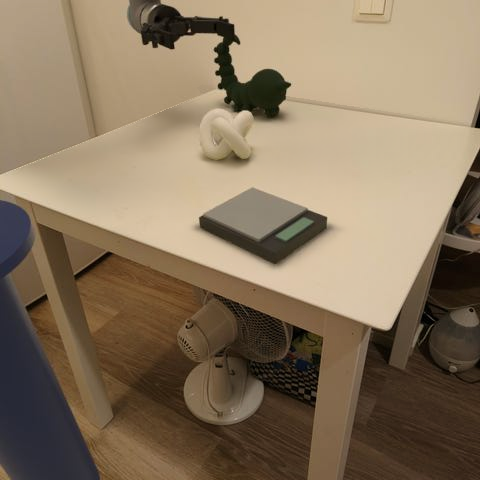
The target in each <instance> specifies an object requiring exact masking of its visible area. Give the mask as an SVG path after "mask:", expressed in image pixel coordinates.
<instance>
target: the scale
mask: <svg viewBox="0 0 480 480" xmlns="http://www.w3.org/2000/svg"><path fill="white" fill-rule="evenodd" d="M198 221H199V228H200V229H201V230H204V231H206V232H208V233H209V234H212V235H213V236H216V237H218V238H220V239H223V240H225V241H227V242H229V243H231V244H233V245H235V246H237V247H239V248H241V249H243V250H245V251H247V252H250V253H251V254H252V255H253V254H254V255H255V256H258V257H260V258H262V259H264V260H266V261H268V262H270V263H272V264H274V265H276V264H278V263H279V262H281V261H282V260H284V259H285V258H286V257H288V256H290V254H292V253H293V252H294V251H296V250H298V249H299V248H300V247H302V246H303V245H305V244H306V243H308V242H309V241H310V240H311V239H313V238H314V237H316V236H317V235H319V234H320V233H321V232H323V231H325V229H327V225H328V216H326V215H324V214H321V213H318V212H315V211H313V210H310V209H309V208H308V207H306V206H303V205H300V204H298V203H295V202H294V201H291V200H287V199H284V198H283V197H280V196H277V195H274V194H271V193H268V192H266V191H263V190H260V189H258V188H255V187H253V186H252V187H250V188H248V189H246V190H245V191H243V192H241V193H239V194H237V195H235V196H233V197H232V198H230V199H227V200H226V201H223V202H222V203H220V204H218V205H216V206H214V207H213V208H211V209H209V210H207V211H205V212H204V213H202V215H200V216H199V217H198Z"/></svg>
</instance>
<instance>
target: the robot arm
mask: <svg viewBox="0 0 480 480" xmlns="http://www.w3.org/2000/svg"><path fill="white" fill-rule="evenodd" d="M128 3H129V4H128V6H127V9H126V19H127V22H128V24H129V26H130V27H131V28H132V29H133V30H134V31H136V32H137V33H138V34H140V36H141V43H142V46H148V45H149V44H150V42H151V45H152V46H151V47H152V49H159V46H162V47H164V48H167V49H168V50H171V51H172V50H175V48H176V47H175V43H177V42H178V41H179V40H180V38H182V37H184V36H185V37H186V36H188V37H189V36H190V37H191V36H192V37H193V36H195V35H196V34H210V35H213V34H214V35H216V36H217V37H221V38H224V37H225V38H228V39H231V40H233V39H235V35H236V32H235V31H236V30H235V24H234V23H231V22H230V18H228V17H226V18H224V16H223V15H220V16H218V17H206V16H205V17H203V16H198V15H195V16H184V15H182V14H181V12H180V11H179V9H177V8H175V7H174V6H172V5H168V4H164V3H162V0H128Z"/></svg>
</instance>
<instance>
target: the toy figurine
mask: <svg viewBox="0 0 480 480" xmlns="http://www.w3.org/2000/svg"><path fill="white" fill-rule="evenodd" d="M233 43H236V44H237V45H238V46H241V40H240V38H239V37H238V35H237V34H235V39H233V40H231V39H228V38H225V37H222V41H220V42H219V43H217V44H216V46H214V47H213V52H214V53H216V55H217V57H215V58H213V62H214V63H215V64H216V65H218V66H219V67H218V69H216V70H215V71H214V74H215V76H216V77H220V78H221V79H220V82H218V83H217V88H218V90H224V91H225V94H226V96H225V97H224V98H223V102H224V104H226V105H230V104H231V103H233V105H232V108H233V110H234V111H235V112H239V111H240V110H241V109H243V110H242V111H249V112H251V113H252V112H253V110H254V109H259V110H262V111H263V112H264V115H265V116H266V117H267V118H269V119H272V118H274V117H277V116H278V115H279V114H280V110H281V109H280V106H281V104H283V102H284V101H286V100H287V92H288V91H287V90H288V89H289V88H290V87H292V83H291V82H289V81H286V80H285V78H284V76H283V75H282V74H281V73H280V72H279V71H277V70H276V69H273V68H263V69H261V70H258V71H257V72H255V74H254V75H253V76H252V77H251V79H249V80H248V81H245V82H241V81H239V78H238V76H237V75H236V73H235V71H236V70H235V67H234V64H232V63H233V57H232V55H231V53H230V51H231V50H230V46H231V45H232V44H233Z"/></svg>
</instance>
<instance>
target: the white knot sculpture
mask: <svg viewBox="0 0 480 480" xmlns="http://www.w3.org/2000/svg"><path fill="white" fill-rule="evenodd" d="M253 125H254V116H253V114H252V112H249V111H244V110H242V111H240V112H238V113H237V114H236V115H235V117H234V116H233V115H232V114H231V112H229V111H227V110H226V109H223V108H212V109H211V110H209V111H208V112H207V113H206V114H205V115H204V116H203V118H202V119H201V121H200V125H199V128H198V142H199V147H200V149H201V151H202V152H203V154H204V155H205V156H206V157H207V158H209V159H211V160H214V161H216V160H217V161H218V160H222V159H225V158H226V157H227V156H229V155H230V154H231V153H232V152H234V153H235V155H236V156H237V157H238V158H240V159H242V160H246V159H248V158H249V157H250V155H251V153H252V152H251V151H252V150H251V147H250V145H249V143H248V141H247V139H246V137H247V136H248V134H249V133H250V131H251V129H252V127H253Z"/></svg>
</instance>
